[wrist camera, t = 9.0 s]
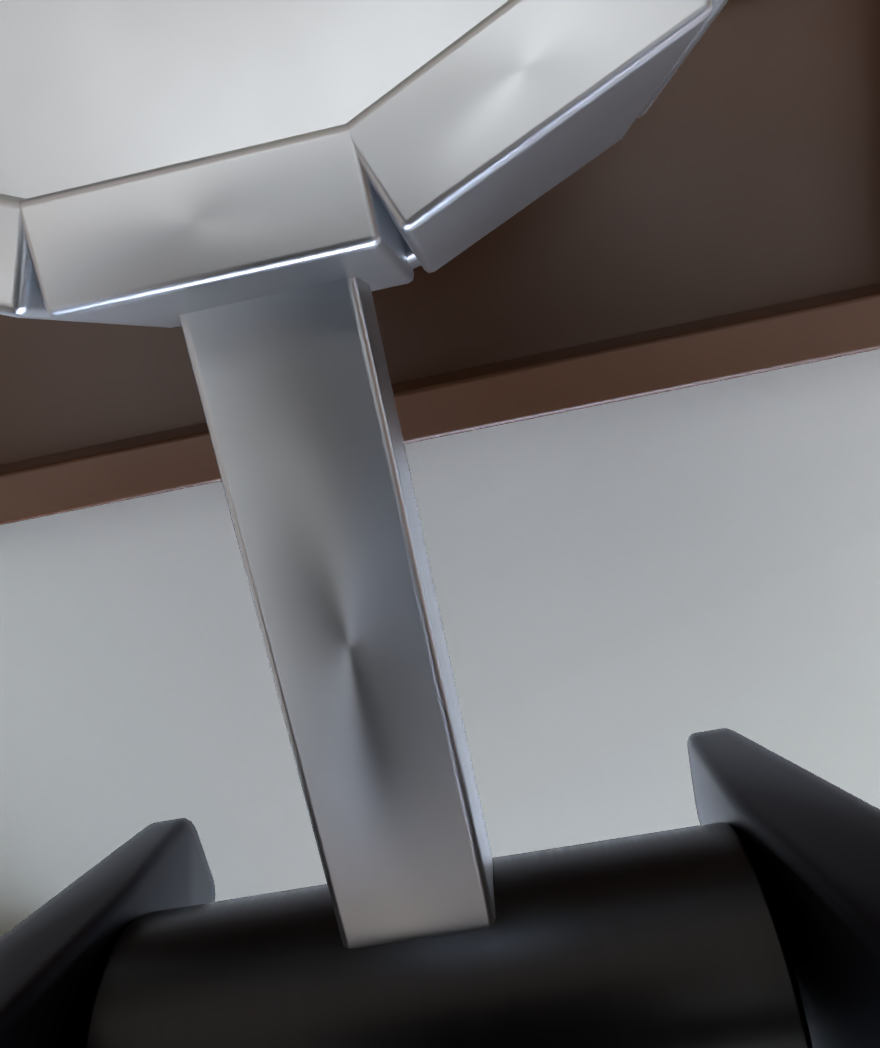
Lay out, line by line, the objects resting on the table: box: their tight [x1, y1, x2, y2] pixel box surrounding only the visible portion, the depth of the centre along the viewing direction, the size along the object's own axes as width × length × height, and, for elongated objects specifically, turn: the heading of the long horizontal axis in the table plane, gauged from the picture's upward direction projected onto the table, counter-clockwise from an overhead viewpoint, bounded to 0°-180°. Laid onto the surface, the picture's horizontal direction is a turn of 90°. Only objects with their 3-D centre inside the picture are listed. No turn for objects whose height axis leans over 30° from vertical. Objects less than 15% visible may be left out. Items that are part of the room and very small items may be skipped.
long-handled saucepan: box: [0, 0, 813, 1048], centre depth 5 cm, size 16×10×3 cm, turn 12°
